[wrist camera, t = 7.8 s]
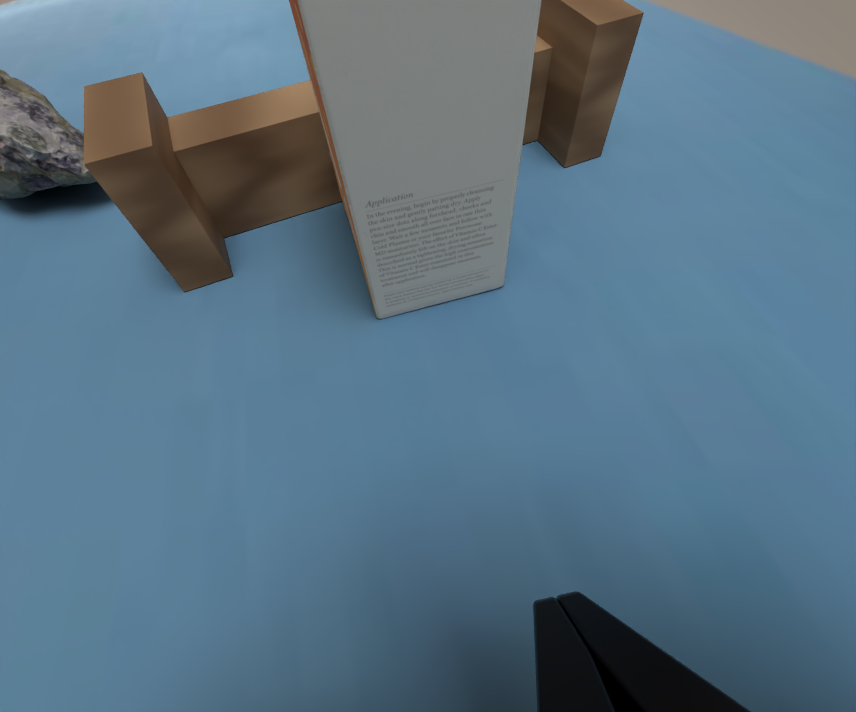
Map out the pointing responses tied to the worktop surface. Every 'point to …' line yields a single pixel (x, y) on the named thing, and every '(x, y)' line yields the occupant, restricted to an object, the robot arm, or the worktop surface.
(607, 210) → the worktop surface
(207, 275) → the stop rail
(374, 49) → the small box
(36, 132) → the mineral rock
